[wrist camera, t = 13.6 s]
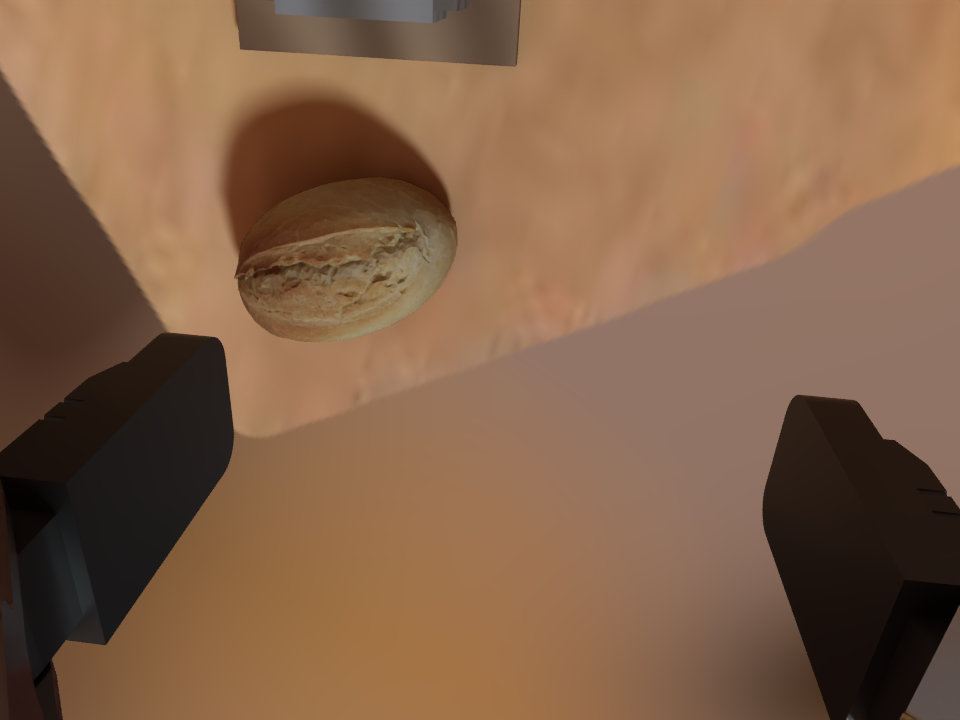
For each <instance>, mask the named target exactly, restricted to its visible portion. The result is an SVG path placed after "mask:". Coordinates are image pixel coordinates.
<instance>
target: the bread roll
mask: <svg viewBox="0 0 960 720" xmlns="http://www.w3.org/2000/svg"><path fill="white" fill-rule="evenodd" d="M456 249H457V228H456V222H455V220H454V217H452V215H451V213H450V211H448V210H447V208H446V207H445V206H444V205H443V204H442V203H441V202H440V201H439V200H438V199H437V198H436V197H435V196H434V195H433V194H432V193H430V192H428V191H426V190H424V189H422V188H420V187H417V186H415V185H413V184H410V183H408V182H405V181H402V180H395V179H389V178H384V177H369V178H362V179H352V180H344V181H338V182H333V183H327V184H324V185H320V186H317V187H314V188H311V189H308V190H305V191H303V192H300V193H298V194H296V195H294V196H292V197H290V198H288V199H286V200H284V201H282V202H280V203H278V204H276V205H275V206H273V207H272V208H271V209H269V210H268V211H267V212H266V213H265V214H264V215H263V216H262V217H261V218H260V219H259V220H258V221H257V222H256V223H255V224H254V226H253V227H252V228H251V230H250V231H249V232H248V234H247V235H246V237H245V239H244V241H243V242H242V244H241V250H240V254H239V260H238V266H237V270H236V274H235V276H234V279H237V278H238V290H239V292H240V296H241V299H242V301H243V304H244V305H245V307H246V309H247V311H248V312H249V314H250V315H251V316H252V318H253V319H254V321H255V322H256V323H258V324H259V325H260V326H261V327H262V328H264V329H265V330H267V331H268V332H270V333H271V334H273V335H276V336H278V337H282V338H287V339H292V340H296V341H301V342H332V341H341V340H348V339H352V338H356V337H360V336H363V335H366V334H369V333H372V332H374V331H377V330H380V329H383V328H385V327H387V326H389V325H391V324H393V323H395V322H397V321H399V320H401V319H402V318H404V317H406V316H407V315H409V314H411V313H413V312H414V311H415V310H417V309H418V308H420V307H421V306H422V305H423V304H425V303H426V302H427V301H428V300H429V299H430V298H431V297H432V296H433V295H434V293H435V292H436V291H437V290H438V289H439V287H440V286H441V284H442V283H443V281H444V279H445V278H446V276H447V274H448V272H449V270H450V268H451V265H452V263H453V260H454V257H455V255H456Z"/></svg>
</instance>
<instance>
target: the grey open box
mask: <svg viewBox="0 0 960 720" xmlns="http://www.w3.org/2000/svg"><path fill="white" fill-rule="evenodd" d="M236 8H237V19H238V30H239V41H240V49H243V50H259V51H275V52H291V53H307V54H323V55H338V56H354V57H370V58H386V59H402V60H418V61H434V62H450V63H466V64H482V65H498V66H514V67H515V66H516V65H517V55H518V40H519V24H520V9H521V0H236Z"/></svg>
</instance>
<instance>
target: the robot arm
mask: <svg viewBox="0 0 960 720" xmlns="http://www.w3.org/2000/svg"><path fill="white" fill-rule="evenodd" d="M233 441H234V429H233V420H232V411H231V402H230V393H229V385H228V376H227V367H226V358H225V352H224V348H223V345H222V343H221V342H220V340H219V339H218V338H216V337H209V336H198V335H188V334H178V333H167V332H165V333H161V334H160V335H158V336H157V337H156V338H155V339H154V340H152V341H151V342H150V343H149V344H148V345H147V346H146V347H145V348H143V349H142V350H141V351H140V352H139V353H138V354H137V355H136V356H134V357H133V358H132V359H131V360H130V361H129V362H122V363H120V364H117V365H115V366H113V367H111V368H109V369H107V370H105V371H102V372H100V373H98V374H96V375H94V376H92V377H90V378H88V379H87V380H85V381H84V382H83V383H82V384H81V385H79V386H78V387H77V388H76V389H75V390H73V391H72V392H71V393H70V394H69V395H68V396H66V397H65V400H64V403H63V402H62V403H61V402H59V403H58V404H57V405H56V406H54V407H53V408H52V409H51V410H50V411H49V412H47V413H46V414H45V416H44V420H40V419H39V420H38V421H37V422H35V423H34V424H33V425H32V426H31V427H30V428H28V429H27V430H26V431H25V432H24V433H22V434H21V435H20V436H19V437H18V438H17V439H16V440H14V441H13V442H12V443H11V444H10V445H8V446H7V447H6V448H5V449H3V450H2V451H1V452H0V720H63V716H62V708H61V701H60V695H59V687H58V680H57V674H56V671H55V667H54V663H53V660H52V658H53V656H54V655H55V653H56V652H57V651H58V650H59V648H60V647H61V646H62V644H63V643H64V642H65V640H69V641H78V642H85V643H93V644H101V645H106V644H107V643H108V641H109V640H110V638H111V637H112V635H113V634H114V632H115V631H116V629H117V628H118V627H119V625H120V624H121V622H122V621H123V619H124V618H125V616H126V615H127V614H128V612H129V611H130V609H131V608H132V606H133V605H134V603H135V602H136V600H137V599H138V598H139V596H140V595H141V593H142V592H143V590H144V589H145V587H146V586H147V584H148V583H149V582H150V580H151V579H152V577H153V576H154V574H155V573H156V571H157V570H158V569H159V567H160V566H161V564H162V563H163V561H164V560H165V558H166V557H167V556H168V554H169V553H170V551H171V550H172V548H173V547H174V545H175V544H176V542H177V541H178V540H179V538H180V537H181V535H182V534H183V532H184V531H185V529H186V528H187V526H188V525H189V524H190V522H191V521H192V519H193V518H194V516H195V515H196V513H197V512H198V511H199V509H200V508H201V506H202V505H203V503H204V502H205V500H206V499H207V497H208V496H209V494H210V493H211V492H212V490H213V489H214V487H215V486H216V484H217V483H218V481H219V480H220V479H221V477H222V476H223V474H224V473H225V471H226V469H227V467H228V464H229V461H230V458H231V454H232V449H233ZM763 525H764V531H765V534H766V537H767V540H768V543H769V546H770V549H771V552H772V554H773V557H774V560H775V563H776V566H777V569H778V572H779V574H780V577H781V580H782V583H783V586H784V589H785V592H786V595H787V597H788V600H789V603H790V606H791V608H792V612H793V615H794V617H795V620H796V623H797V626H798V629H799V632H800V635H801V637H802V640H803V643H804V646H805V649H806V652H807V655H808V658H809V660H810V663H811V666H812V669H813V672H814V675H815V678H816V680H817V683H818V686H819V689H820V692H821V695H822V697H823V701H824V703H825V706H826V709H827V712H828V715H829V718H830V720H960V509H959V507H958V506H957V505H956V503H955V502H954V501H953V499H952V498H951V497H948V496H947V491H946V489H945V488H944V487H943V485H942V484H941V483H940V481H939V480H938V478H937V477H936V476H935V474H934V473H933V472H932V470H931V469H930V468H929V466H928V465H927V464H926V463H925V462H923V461H922V460H921V459H919V458H918V457H916V456H915V455H914V454H912V453H911V452H910V451H908V450H907V449H906V448H904V447H903V446H902V445H900V444H899V443H898V442H896V441H895V440H886V439H883V438H882V437H881V435H880V434H879V432H878V431H877V429H876V428H875V426H874V425H873V423H872V422H871V420H870V419H869V417H868V416H867V414H866V413H865V411H864V410H863V408H862V407H861V405H860V404H859V403H858V402H857V401H855V400H847V399H837V398H826V397H816V396H805V395H796V396H795V397H794V398H793V399H792V400H791V402H790V404H789V406H788V408H787V411H786V415H785V418H784V422H783V425H782V429H781V433H780V436H779V440H778V443H777V447H776V450H775V454H774V458H773V461H772V465H771V468H770V472H769V475H768V479H767V482H766V486H765V490H764V496H763Z"/></svg>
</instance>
